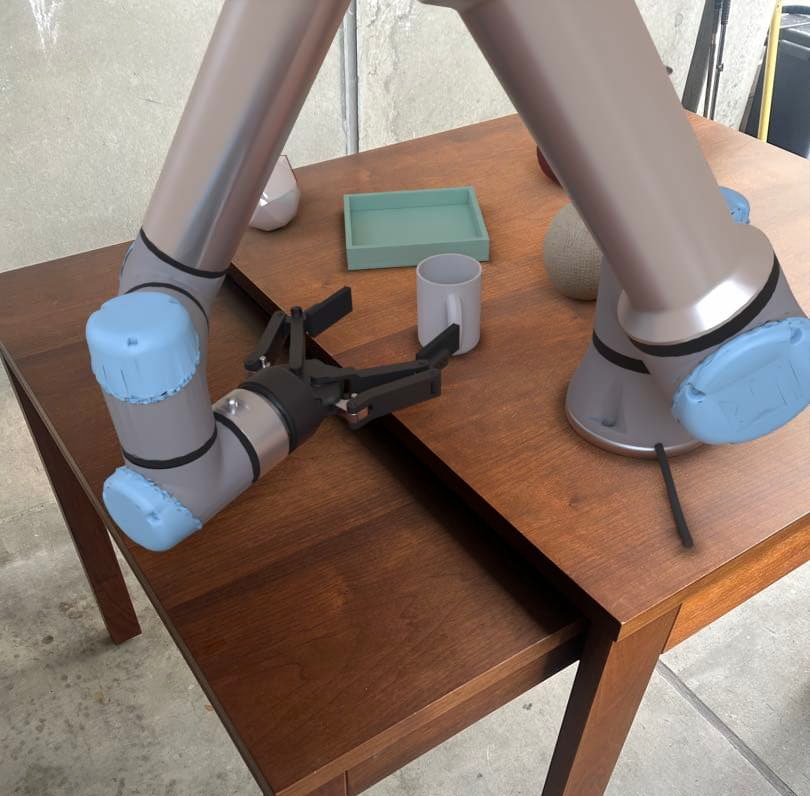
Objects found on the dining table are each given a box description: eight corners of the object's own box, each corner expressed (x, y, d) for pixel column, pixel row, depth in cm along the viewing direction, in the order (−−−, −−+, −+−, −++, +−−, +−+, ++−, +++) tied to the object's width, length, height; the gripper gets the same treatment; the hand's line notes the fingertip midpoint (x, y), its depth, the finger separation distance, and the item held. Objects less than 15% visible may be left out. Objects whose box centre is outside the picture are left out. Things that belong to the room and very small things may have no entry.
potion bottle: (259, 254, 120) (272, 219, 132) (311, 210, 117) (320, 178, 128) (210, 200, 116) (229, 168, 128) (263, 153, 112) (277, 125, 124)
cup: (474, 321, 103) (476, 251, 97) (488, 368, 96) (491, 296, 90) (415, 326, 103) (413, 256, 97) (424, 373, 96) (422, 301, 90)
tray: (489, 260, 114) (489, 239, 112) (348, 270, 113) (346, 248, 111) (472, 206, 126) (473, 185, 123) (345, 214, 125) (343, 194, 123)
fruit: (644, 308, 104) (667, 185, 94) (552, 319, 103) (563, 195, 93) (616, 267, 111) (634, 148, 101) (529, 276, 111) (538, 157, 100)
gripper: (370, 437, 69) (507, 318, 81) (155, 344, 80) (304, 251, 91) (375, 506, 74) (503, 385, 86) (173, 410, 85) (311, 314, 97)
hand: (401, 316), depth 89 cm, fingers open, 13 cm apart
